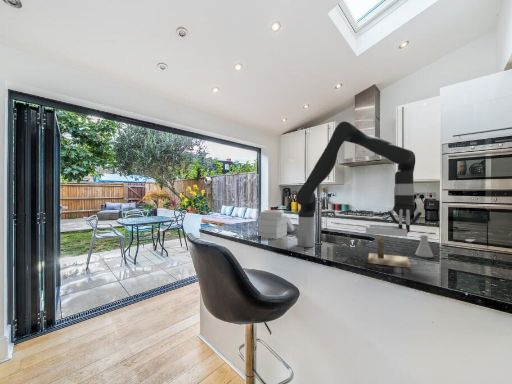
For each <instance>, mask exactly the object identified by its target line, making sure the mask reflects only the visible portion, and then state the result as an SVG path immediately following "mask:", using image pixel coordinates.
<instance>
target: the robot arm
mask: <svg viewBox="0 0 512 384" xmlns="http://www.w3.org/2000/svg"><path fill="white" fill-rule="evenodd" d="M344 142H346V143H351V144H356V145H358V146H360V147H363V148H365V149H367V150H368V151H371V152H372V153H374V154H377V155H378V156H381V157H383V158H385V159H387V160H389V161H390V162H392V163H394V164H397V171H395V174H394V187H393V188H394V189H393V196H394V197H393V200H394V206H393V207H392V209H391V210H388V211H387V213H388V216H389V217H390V218H391V220H392V221H393V222H394V223H395V224H397V226H399V229H402V226H403V218H404V217H405V227H406V229H407V235H408V234H409V233H410V232H411V228H410V227H411V225H414V224H416V223H417V221H418V220H419V218H420V217H421V216H422V214H423V213H422V212H421V211H419V210H417V209H416V207H415V186H414V171H415V168H416V167H415V166H416V155H415V152H413V151H412V150H411V149H407V148H404V147H401V146H398V145H396V144H394V143H392V142H391V141H388V140H385V139H383V138H380V137H377V136H373V135H370V134H367V133H365V132H363V131H362V130H360V129H359V128H357V127H356V125H354V124H352V123H351V122H349V121H346V120H344V121H342V122H339V123H338V124H337V125H336V127H335V129H334V131H333V133H332V135H331V137H330V139H329V140H328V143H327V145H326V147H325V149H324V150H323V152H322V154H321V155H320V156H319V158H318V160H317V162H316V163H315V165H314V167H313V168H312V170H311V172H310V174H309V176H308V178H307V179H306V180H305V182H304V183H303V185H302V186H301V187H300V189H299V190H297V193H296V196H295V199H296V203H297V204H298V205H299V206H300V210H299V211H298V215H297V216H298V222H297V223H298V229H297V230H296V231H297V246H298V247H303V248H312V247H315V243H316V241H315V213H316V210H317V209H316V203H317V200H316V199H317V198H316V197H317V196H316V193H315V191H316V190H317V188H318V187H319V185H321V184H322V183H323V182H324V181H325V180H326V179H327V177H328V176H330V174H331V172H332V171H333V169H334V167H335V165H336V163H337V159H338V154H339V150H340V149H341V147H342V145H343V144H344ZM394 214H396V215H397V216H398V220H397V219H396V217H395V216H394ZM413 214H414V217H413V218H412V220H411V216H412V215H413Z"/></svg>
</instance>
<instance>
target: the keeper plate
mask: <svg viewBox="0 0 512 384" xmlns="http://www.w3.org/2000/svg"><path fill="white" fill-rule="evenodd" d="M376 239H377V240H376V241H377V253H373V252H372V253H371V252H369V253H368V260H367V261H368V262H367V263H368V264H374V265H375V264H376V265H381V266H383V265H385V266H390V267H391V266H392V267H400V268H407V269H410V268H411V263H410V260H409V257H408V256H401V255H391V254H385V239H384V237H383V236H379V237H377V238H376Z"/></svg>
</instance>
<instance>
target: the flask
mask: <svg viewBox="0 0 512 384" xmlns="http://www.w3.org/2000/svg"><path fill="white" fill-rule="evenodd" d="M419 237H420V242H419V245H417V246H418V247H417V249H416V251H415V253H414V255H416V256H418V257H421V258H434V253H433V252H432V249H431V247H430V244H429V241H428V238H429V236H428V235H426V234H425V235H423V234H421V235H419Z"/></svg>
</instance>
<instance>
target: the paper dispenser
mask: <svg viewBox="0 0 512 384" xmlns="http://www.w3.org/2000/svg"><path fill="white" fill-rule="evenodd" d="M257 217H258V219H257V220H258V229H257V230H258V237H259V236H261V237H260V238H264V237H267V238H266V239H272V238H273V239H274V240H278V238H279V239H281V238H284V237H287V236H286V235H288V231H289V232H294V230H295V226H294V225H293V223H292V221H291V219H290V218H289V217H288V216H287V214H285V210H284V209H263V210H261V211H259V215H258V216H257ZM283 236H284V237H283ZM273 239H272V240H273Z"/></svg>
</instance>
